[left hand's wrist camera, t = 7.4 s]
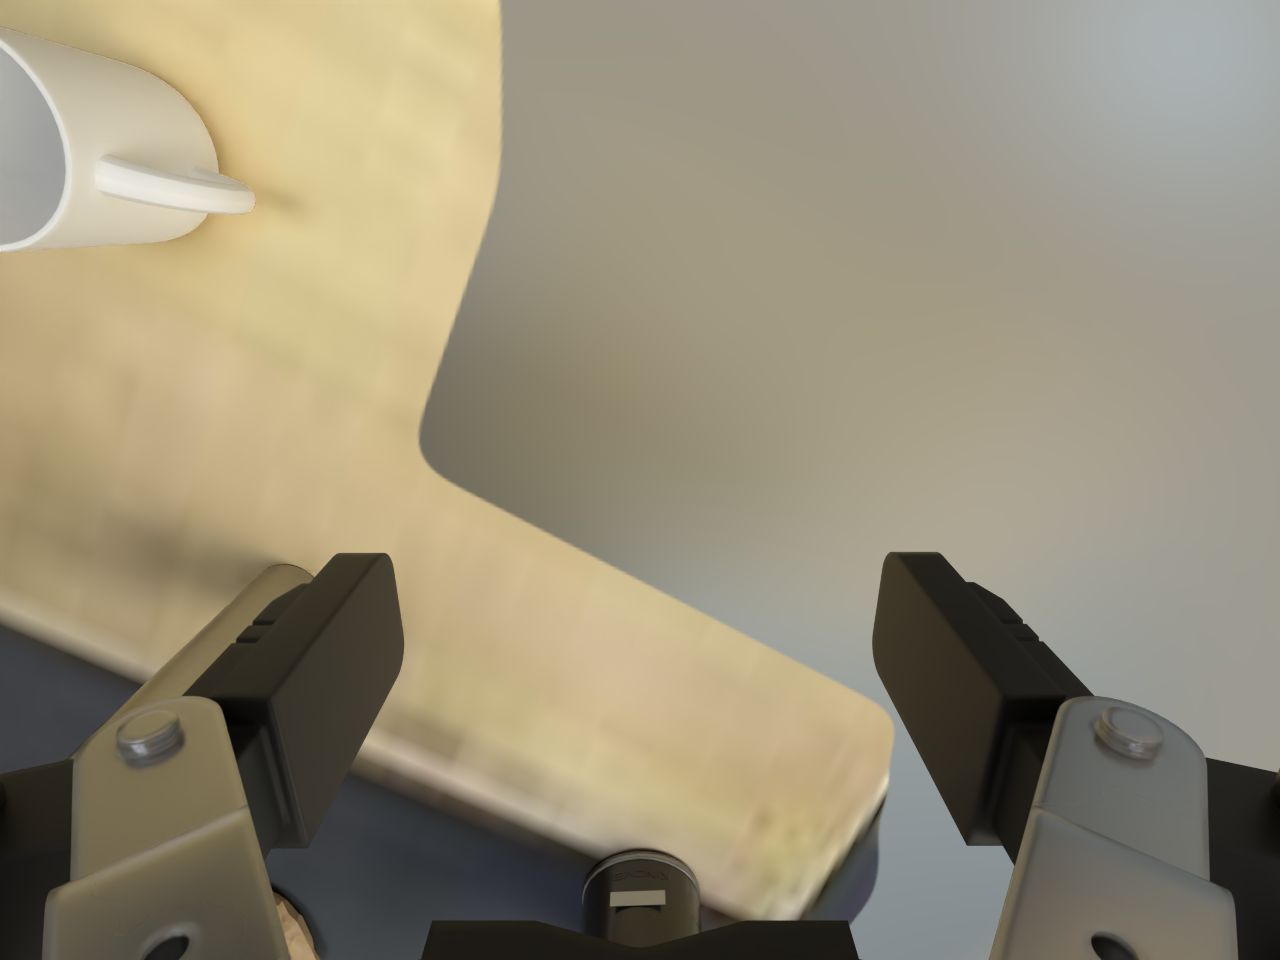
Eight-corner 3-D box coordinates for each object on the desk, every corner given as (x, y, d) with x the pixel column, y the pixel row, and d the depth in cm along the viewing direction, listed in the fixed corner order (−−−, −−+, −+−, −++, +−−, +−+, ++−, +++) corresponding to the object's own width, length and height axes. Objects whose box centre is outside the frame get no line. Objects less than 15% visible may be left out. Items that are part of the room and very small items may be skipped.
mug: (308, 124, 34) (180, 89, 25) (287, 285, 37) (165, 309, 28) (60, 39, 33) (-176, -32, 24) (59, 212, 36) (-152, 212, 26)
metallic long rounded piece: (323, 570, 44) (105, 815, 26) (322, 625, 46) (115, 893, 28) (256, 559, 44) (-12, 799, 26) (256, 615, 45) (4, 879, 27)
